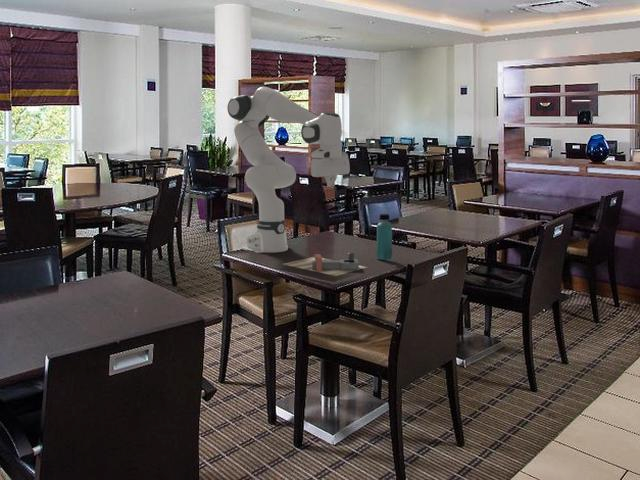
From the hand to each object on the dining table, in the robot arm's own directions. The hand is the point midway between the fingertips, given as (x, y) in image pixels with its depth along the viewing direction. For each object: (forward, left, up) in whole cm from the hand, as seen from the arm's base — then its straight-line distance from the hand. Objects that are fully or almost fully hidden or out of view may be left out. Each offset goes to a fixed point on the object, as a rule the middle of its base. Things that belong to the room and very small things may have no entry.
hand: (330, 186), depth 268 cm
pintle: (+18, -8, -31) cm, 37 cm away
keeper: (+10, -18, -30) cm, 36 cm away
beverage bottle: (+18, +13, -31) cm, 38 cm away
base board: (+7, -12, -31) cm, 34 cm away
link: (+14, -13, -30) cm, 36 cm away
